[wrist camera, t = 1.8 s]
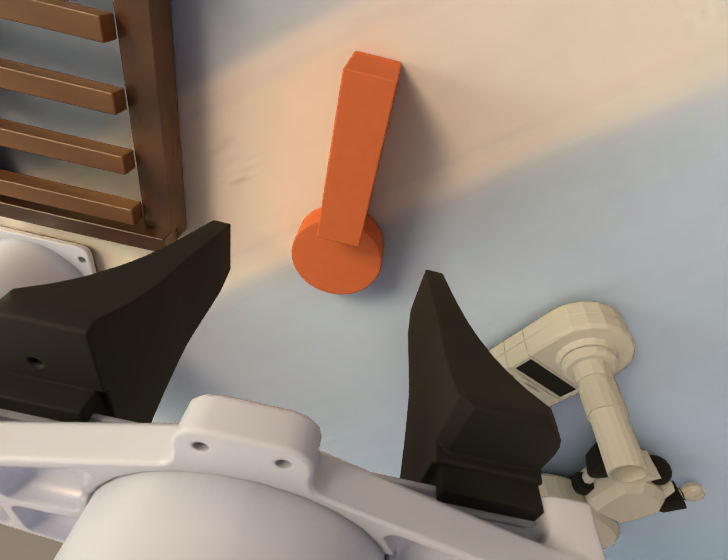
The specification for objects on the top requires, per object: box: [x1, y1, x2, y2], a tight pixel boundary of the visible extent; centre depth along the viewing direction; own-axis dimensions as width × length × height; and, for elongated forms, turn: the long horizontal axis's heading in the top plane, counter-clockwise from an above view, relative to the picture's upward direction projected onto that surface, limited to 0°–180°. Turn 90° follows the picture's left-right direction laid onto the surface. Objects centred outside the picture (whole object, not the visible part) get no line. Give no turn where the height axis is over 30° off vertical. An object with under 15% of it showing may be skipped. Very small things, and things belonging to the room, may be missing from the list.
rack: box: [0, 0, 187, 251], centre depth 20 cm, size 16×13×3 cm
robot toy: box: [539, 442, 705, 549], centre depth 37 cm, size 12×4×15 cm
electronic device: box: [489, 301, 650, 483], centre depth 27 cm, size 5×10×15 cm
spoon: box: [292, 51, 402, 294], centre depth 22 cm, size 13×5×4 cm, turn 168°
